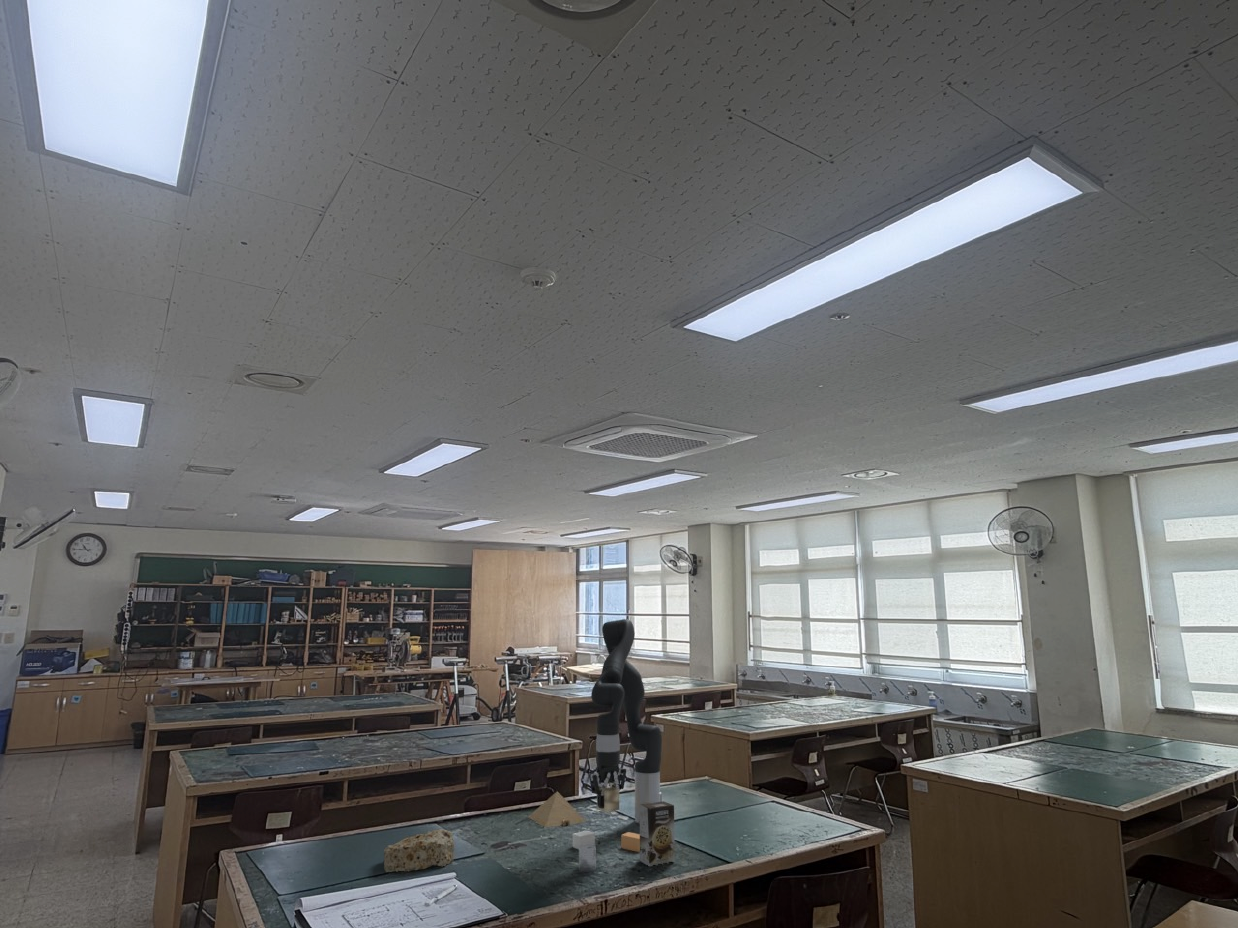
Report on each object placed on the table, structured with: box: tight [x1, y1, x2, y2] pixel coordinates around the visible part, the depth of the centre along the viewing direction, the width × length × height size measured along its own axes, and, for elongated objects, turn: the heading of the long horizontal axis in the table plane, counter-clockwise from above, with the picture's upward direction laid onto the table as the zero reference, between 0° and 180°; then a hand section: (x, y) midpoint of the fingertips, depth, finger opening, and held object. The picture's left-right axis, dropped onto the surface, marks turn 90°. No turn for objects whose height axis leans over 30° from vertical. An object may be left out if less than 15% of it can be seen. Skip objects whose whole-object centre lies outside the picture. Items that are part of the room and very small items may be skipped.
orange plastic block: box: [620, 831, 640, 853], centre depth 225 cm, size 4×7×4 cm, turn 53°
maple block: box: [596, 785, 620, 813], centre depth 220 cm, size 5×5×6 cm
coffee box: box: [639, 800, 675, 867], centre depth 214 cm, size 9×6×16 cm
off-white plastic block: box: [572, 830, 596, 850], centre depth 227 cm, size 6×4×4 cm, turn 129°
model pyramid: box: [528, 791, 587, 828], centre depth 258 cm, size 17×17×10 cm
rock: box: [383, 828, 455, 873], centre depth 210 cm, size 21×14×10 cm
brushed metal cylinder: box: [578, 844, 597, 873], centre depth 207 cm, size 5×5×6 cm
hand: (608, 805), depth 219 cm, fingers closed on maple block, 5 cm apart
